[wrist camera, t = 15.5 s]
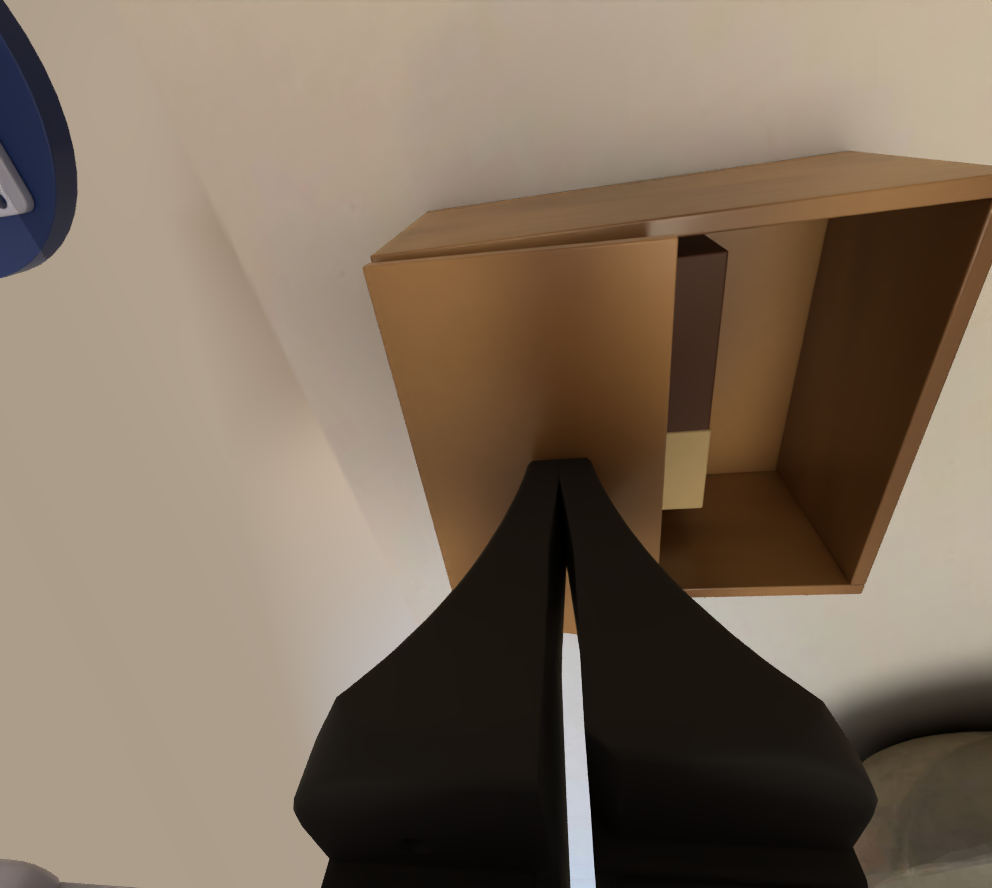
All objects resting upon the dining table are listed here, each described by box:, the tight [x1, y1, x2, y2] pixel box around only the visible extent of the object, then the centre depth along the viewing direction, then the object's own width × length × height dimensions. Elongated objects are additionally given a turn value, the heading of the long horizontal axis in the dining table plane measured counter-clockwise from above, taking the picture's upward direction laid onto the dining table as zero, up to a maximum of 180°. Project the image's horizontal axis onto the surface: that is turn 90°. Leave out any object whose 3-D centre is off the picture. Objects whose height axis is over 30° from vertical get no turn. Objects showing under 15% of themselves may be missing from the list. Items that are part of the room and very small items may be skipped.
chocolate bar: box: [662, 234, 728, 510], centre depth 15 cm, size 8×4×3 cm, turn 8°
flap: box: [363, 234, 678, 634], centre depth 12 cm, size 6×11×1 cm, turn 8°
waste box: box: [371, 151, 992, 597], centre depth 14 cm, size 12×11×6 cm
